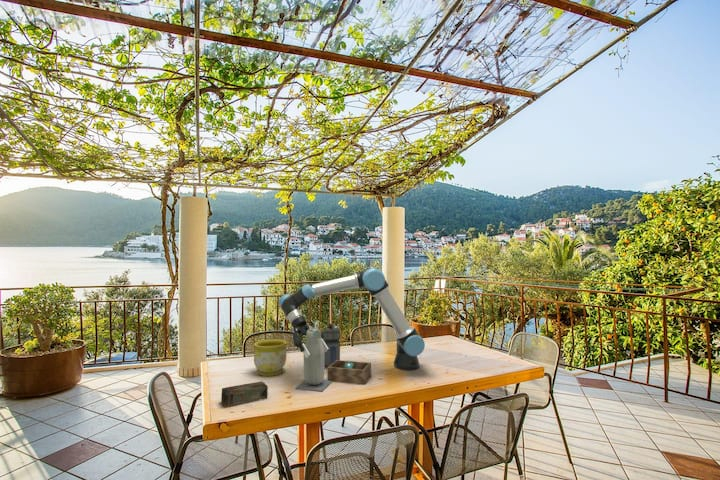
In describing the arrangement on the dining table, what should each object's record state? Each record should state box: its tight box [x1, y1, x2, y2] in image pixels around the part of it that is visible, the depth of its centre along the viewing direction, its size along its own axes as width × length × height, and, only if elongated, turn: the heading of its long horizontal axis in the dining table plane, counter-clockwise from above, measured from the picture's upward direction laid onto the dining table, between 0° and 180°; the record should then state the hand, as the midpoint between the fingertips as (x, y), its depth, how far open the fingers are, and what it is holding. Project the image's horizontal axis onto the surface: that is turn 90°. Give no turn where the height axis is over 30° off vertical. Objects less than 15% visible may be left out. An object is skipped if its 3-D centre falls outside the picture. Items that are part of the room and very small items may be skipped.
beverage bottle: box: [322, 323, 341, 369], centre depth 208 cm, size 10×13×25 cm
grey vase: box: [303, 326, 325, 385], centre depth 177 cm, size 10×10×28 cm
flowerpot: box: [253, 338, 288, 377], centre depth 197 cm, size 18×18×16 cm
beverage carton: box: [220, 380, 269, 408], centre depth 157 cm, size 8×19×7 cm, turn 123°
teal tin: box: [344, 362, 354, 369], centre depth 189 cm, size 5×5×6 cm
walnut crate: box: [326, 359, 372, 385], centre depth 187 cm, size 20×14×7 cm
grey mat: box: [295, 379, 333, 393], centre depth 176 cm, size 14×14×1 cm
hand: (317, 353), depth 175 cm, fingers open, 13 cm apart
